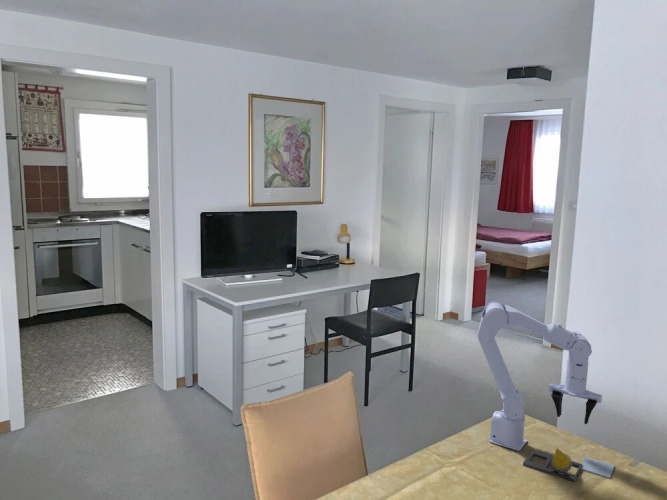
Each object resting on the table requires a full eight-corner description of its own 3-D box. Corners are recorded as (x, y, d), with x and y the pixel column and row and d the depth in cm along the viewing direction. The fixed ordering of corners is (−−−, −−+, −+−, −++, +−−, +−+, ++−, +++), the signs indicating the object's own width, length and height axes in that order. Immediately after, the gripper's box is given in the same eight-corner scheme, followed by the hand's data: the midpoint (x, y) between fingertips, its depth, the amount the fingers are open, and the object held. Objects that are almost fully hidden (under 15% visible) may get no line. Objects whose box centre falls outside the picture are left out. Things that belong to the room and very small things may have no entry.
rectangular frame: (522, 465, 160) (522, 463, 160) (532, 451, 168) (532, 449, 168) (574, 482, 152) (574, 479, 152) (582, 466, 160) (582, 464, 160)
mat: (578, 469, 159) (579, 467, 159) (584, 457, 166) (584, 456, 166) (609, 478, 155) (609, 477, 154) (614, 466, 161) (614, 465, 161)
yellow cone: (574, 478, 155) (567, 457, 150) (554, 477, 158) (546, 456, 153) (573, 460, 159) (567, 439, 154) (553, 460, 162) (546, 439, 157)
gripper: (547, 374, 166) (543, 417, 168) (600, 385, 158) (596, 431, 160) (553, 367, 172) (549, 409, 174) (605, 378, 164) (600, 422, 166)
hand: (572, 419), depth 167 cm, fingers open, 7 cm apart
